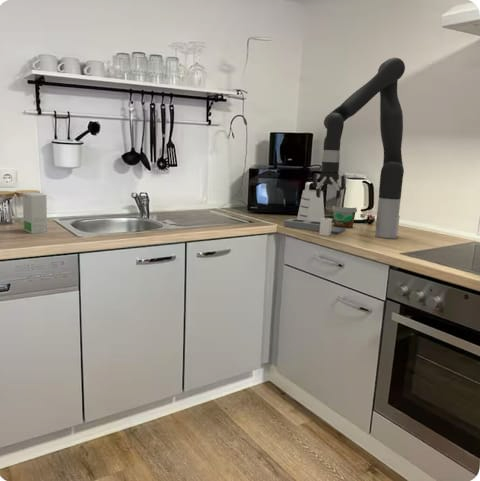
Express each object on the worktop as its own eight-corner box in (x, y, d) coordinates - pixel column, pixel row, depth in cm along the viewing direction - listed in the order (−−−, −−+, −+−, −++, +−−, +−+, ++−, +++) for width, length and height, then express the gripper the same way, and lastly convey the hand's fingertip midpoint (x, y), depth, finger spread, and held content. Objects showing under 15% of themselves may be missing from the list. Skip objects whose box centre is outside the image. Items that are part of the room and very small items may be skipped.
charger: (330, 234, 203) (332, 218, 201) (328, 235, 199) (329, 219, 198) (322, 233, 205) (323, 217, 203) (319, 234, 201) (320, 218, 200)
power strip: (329, 229, 215) (330, 222, 214) (324, 232, 207) (324, 224, 206) (290, 224, 224) (291, 217, 223) (283, 226, 216) (284, 220, 215)
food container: (327, 226, 222) (329, 206, 220) (331, 224, 227) (332, 205, 225) (352, 229, 216) (354, 208, 214) (355, 227, 222) (357, 207, 220)
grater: (297, 219, 241) (299, 181, 236) (313, 218, 245) (316, 181, 241) (307, 222, 231) (310, 183, 227) (324, 221, 236) (327, 183, 232)
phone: (345, 230, 213) (345, 228, 213) (338, 234, 203) (338, 232, 202) (332, 228, 216) (333, 226, 216) (325, 232, 205) (325, 230, 205)
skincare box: (23, 230, 185) (21, 192, 182) (39, 228, 190) (37, 192, 187) (32, 233, 180) (30, 194, 176) (48, 232, 184) (46, 194, 181)
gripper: (349, 161, 195) (346, 199, 199) (317, 160, 202) (315, 196, 205) (344, 162, 189) (341, 200, 192) (312, 160, 195) (309, 197, 199)
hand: (327, 198), depth 199 cm, fingers open, 8 cm apart
